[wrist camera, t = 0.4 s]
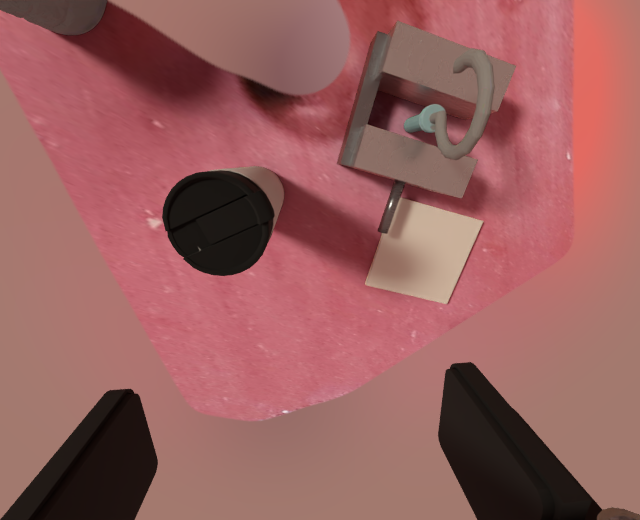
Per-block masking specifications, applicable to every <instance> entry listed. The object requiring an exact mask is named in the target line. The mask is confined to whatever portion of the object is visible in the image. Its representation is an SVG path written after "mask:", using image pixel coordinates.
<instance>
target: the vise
mask: <svg viewBox="0 0 640 520" xmlns="http://www.w3.org/2000/svg"><path fill="white" fill-rule="evenodd" d="M468 49H470V48H468V47H465V46H463V45H460V44H457V43H455V42H452V41H449V40H447V39H444V38H442V37H439V36H436V35H434V34H431V33H428V32H426V31H423V30H421V29H418V28H415V27H413V26H410V25H408V24H405V23H402V22H400V21H397V22H396V23H395V25H394V26H393V28H392V29H391V30H390V32H389V33H388V35H387V34H385V33H382V32H379V31H378V32H377V33H376V35H375V37H374V38H373V40H372V41H371V43H370V47H369V51H368V54H367V58H366V61H365V65H364V68H363V72H362V76H361V79H360V83H359V86H358V90H357V93H356V97H355V101H354V104H353V108H352V111H351V115H350V119H349V122H348V126H347V129H346V133H345V136H344V140H343V144H342V147H341V151H340V154H339V158H338V162H337V164H340V165H344V166H347V167H350V168H354V169H357V170H361V171H364V172H367V173H371V174H374V175H377V176H381V177H384V178H388V179H391V180H394V184H393V187H392V190H391V193H390V196H389V198H388V201H387V204H386V207H385V210H384V213H383V216H382V219H381V222H380V225H379V228H378V231H379V232H381V233H384V234H388V231H389V228H390V225H391V222H392V219H393V217H394V214H395V211H396V208H397V205H398V202H399V199H400V197H401V194H402V191H403V188H404V185H405V184H408V185H411V186H415V187H418V188H422V189H425V190H428V191H432V192H435V193H439V194H444V195H448V196H453V197H457V198H462V197H463V195H464V192H465V190H466V187H467V185H468V183H469V180H470V178H471V175H472V173H473V170H474V168H475V165H476V163H477V161H478V160H477V159H474V158H471V157H468V156H463V157H462V158H460V159H459V160H452V159H448V158H445V157H444V156H443V154H442V153H441V151H440V150H439V149H438V147H436V146H433V145H430V144H427V143H424V142H421V141H418V140H414V139H411V138H408V137H405V136H402V135H399V134H396V133H393V132H389V131H386V130H383V129H380V128H377V127H374V126H371V125H368V120H369V117H370V113H371V110H372V107H373V103H374V100H375V97H376V93H377V90H378V91H381V92H384V93H387V94H390V95H393V96H396V97H399V98H402V99H405V100H408V101H410V102H413V103H416V104H419V105H422V106H425V107H427V106H429V105H433V104H438V105H441V106H442V107H443V108H444V109H445V111H446V114H449V115H452V116H455V117H457V118H460V119H463V120H466V119H470V118H473V116H474V113H475V110H476V103H477V95H478V86H477V77H476V73H475V72H474V70H473V68H467V69H466V70H464V71H463V72H462V73H455V74H453V65H454V62H455V60H456V59H457V58H458V57H459V56H461V55H462V54H463V53H465V52H466V51H467V50H468ZM487 56H488V58H489V60H490V62H491V63H492V65H493V73H494V85H495V89H494V95H493V101H492V108H491V113H494V112H498V109H499V107H500V104H501V102H502V99H503V97H504V95H505V92H506V90H507V87H508V85H509V82H510V80H511V77H512V75H513V73H514V70H515V68H516V66H515V65H512V64H510V63H507V62H505V61H502V60H499V59H497V58H494V57H491V56H489V55H487Z"/></svg>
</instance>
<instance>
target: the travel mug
mask: <svg viewBox="0 0 640 520" xmlns="http://www.w3.org/2000/svg"><path fill="white" fill-rule="evenodd" d="M283 201H284V188H283V185H282V182H281V181H280V179H279V178H278V177H277V175H276V174H275V173H273V172H272V171H271V170H269V169H267V168H264V167H259V166H253V167H241V168H229V169H219V170H211V171H207V172H199V173H195V174H192V175H189V176H187V177H185V178H184V179H182V180H181V181H179V182H178V183H177V184H176V185H175V186H174V187H173V188H172V189H171V191H170V192H169V194H168V196H167V197H166V200H165V204H164V207H163V216H162V218H163V222H164V226H165V230H166V231H167V232H168V238H169V240H170V242H171V244H172V246H173V247H174V248H175V250H176V251H177V252H178V254H179V255H181V256H182V257H184V258H183V259H184V260H185V261H186V262H187V263H189V264H190V265H191V266H192V267H193V268H195V269H197V270H199V271H201V272H204V273H207V274H211V275H219V276H226V275H234V274H237V273H241V272H243V271H245V270H247V269H248V268H250V267H251V266H253V265H254V264H255V263H256V262H257V261H258V260H259V258H260V257H261V256H262V255H263V252H264V250H265V248H266V246H267V243H268V242H269V239H270V237H271V235H272V232H273V230H274V227H275V224H276V221H277V219H278V216H279V213H280V210H281V207H282V205H283Z"/></svg>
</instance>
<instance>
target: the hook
mask: <svg viewBox="0 0 640 520" xmlns="http://www.w3.org/2000/svg"><path fill="white" fill-rule="evenodd" d="M467 68H473V70H474V72H475V73H476V77H477V86H478V95H477V103H476V110H475V113H474V116H473V119H472V122H471V126H470V128H469V130H468V132H467V133H466V135H465V137H464V138H463V140H462V141H461V142H460V143H459V144H457V145H452V143H451V142H450V141H449V138H448V134H447V120H446V119H447V115H446V111H445V109H444V108H443V107H442V106H441V105H438V104H433V105H429V106H427V107H426V108H424V109H423V110H422V112H421V113H420V114H418V115H416V116H413V117H410V118H408V119H407V120H406V121H405V123H404V129H405V131H407V132H408V133H412V132H417V131H421V130H423V131H424V132H427V133H433V132H435V136H436V141H437V145H438V149H439V150H440V151H441V153H442V154H443V156H444V157H445V158H448V159H452V160H459V159H460V158H462V157H463V156H465V155H467V154H468V153H470V152H471V151H472V149H473V148H474V146H475V145H476V143H477V142H478V141H479V139H480V138H481V136H482V134H483V132H484V129H485V126H486V124H487V121H488V118H489V116H490V113H491V108H492V101H493V95H494V89H495V85H494V73H493V65H492V63H491V62H490V60H489V58H488V56H487V55H486V53H485V51H483V50H478V49H473V48H471V49H468V50H467V51H466V52H465V53H463V54H462V55H461V56H459V57H458V58H457V59H456V60H455V62H454V65H453V74H455V73H462V72H463V71H464V70H466V69H467Z"/></svg>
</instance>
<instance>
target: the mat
mask: <svg viewBox="0 0 640 520" xmlns="http://www.w3.org/2000/svg"><path fill="white" fill-rule="evenodd" d="M482 223H483V221H481V220H478V219H474V218H471V217H467V216H464V215H460V214H457V213H453V212H450V211H446V210H443V209H439V208H436V207H432V206H429V205H425V204H422V203H418V202H415V201H411V200H408V199H404V198H401V197H400V199H399V202H398V205H397V208H396V211H395V214H394V217H393V219H392V222H391V225H390V228H389V231H388V234H384V233H382V235H381V238H380V241H379V243H378V246H377V249H376V252H375V255H374V258H373V261H372V264H371V267H370V270H369V273H368V275H367V278H366V281H365V285H367V286H372V287H376V288H380V289H384V290H389V291H393V292H397V293H401V294H406V295H410V296H414V297H418V298H423V299H427V300H431V301H435V302H440V303H444V304H447V303H448V301H449V298H450V296H451V294H452V292H453V289H454V287H455V285H456V283H457V280H458V278H459V276H460V273H461V271H462V269H463V267H464V264H465V262H466V260H467V258H468V255H469V253H470V251H471V248H472V246H473V244H474V242H475V239H476V237H477V235H478V232H479V230H480V228H481V226H482Z"/></svg>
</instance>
